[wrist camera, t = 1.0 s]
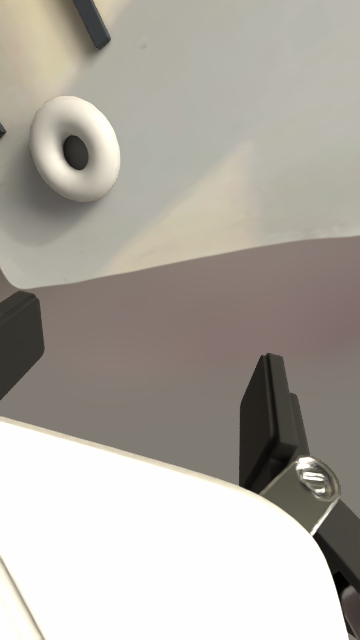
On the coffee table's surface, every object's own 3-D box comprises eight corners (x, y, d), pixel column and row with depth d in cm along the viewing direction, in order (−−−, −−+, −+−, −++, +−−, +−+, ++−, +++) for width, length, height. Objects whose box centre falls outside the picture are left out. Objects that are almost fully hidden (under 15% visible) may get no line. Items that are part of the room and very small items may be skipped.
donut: (142, 156, 32) (73, 71, 29) (133, 159, 29) (55, 64, 26) (89, 216, 37) (25, 148, 34) (77, 223, 34) (5, 149, 31)
